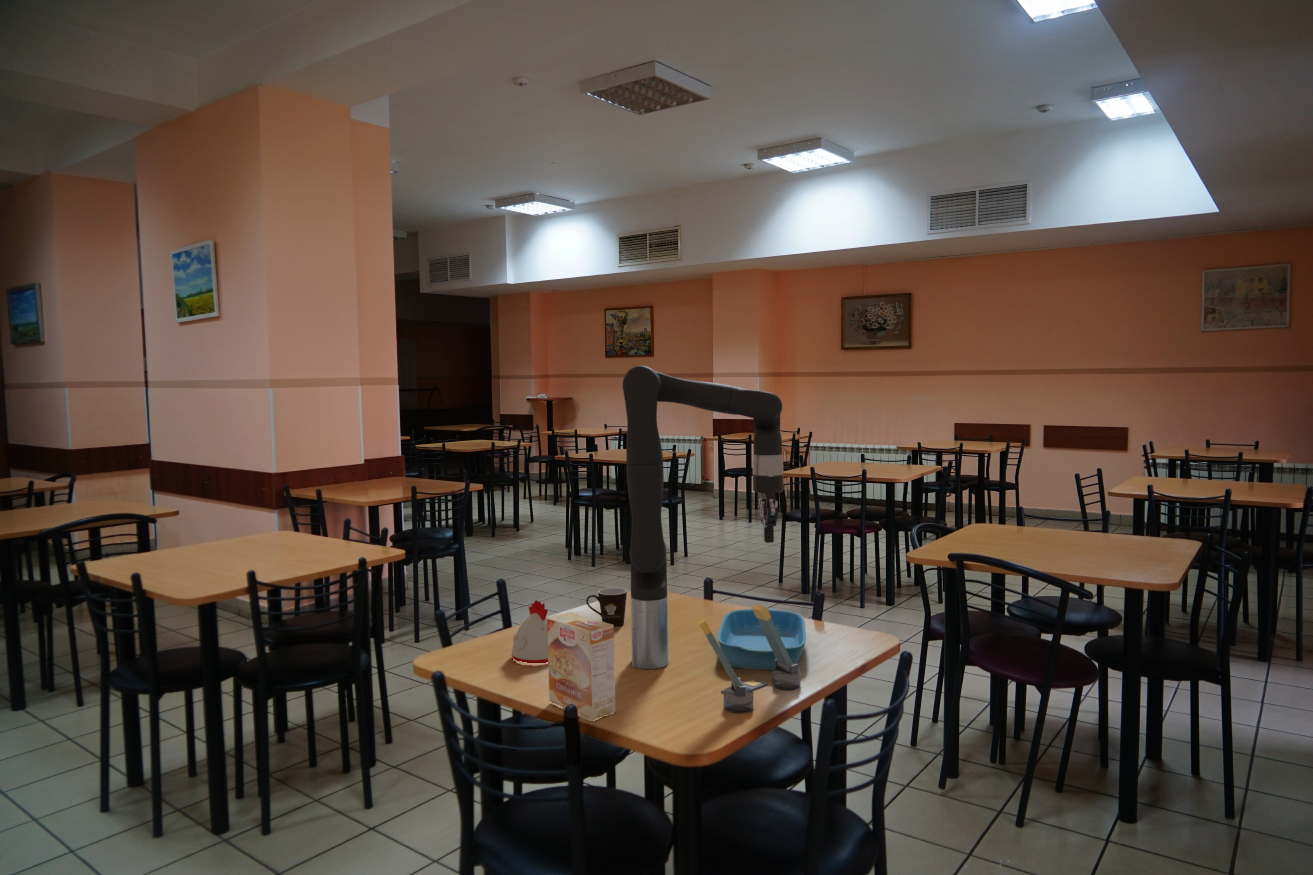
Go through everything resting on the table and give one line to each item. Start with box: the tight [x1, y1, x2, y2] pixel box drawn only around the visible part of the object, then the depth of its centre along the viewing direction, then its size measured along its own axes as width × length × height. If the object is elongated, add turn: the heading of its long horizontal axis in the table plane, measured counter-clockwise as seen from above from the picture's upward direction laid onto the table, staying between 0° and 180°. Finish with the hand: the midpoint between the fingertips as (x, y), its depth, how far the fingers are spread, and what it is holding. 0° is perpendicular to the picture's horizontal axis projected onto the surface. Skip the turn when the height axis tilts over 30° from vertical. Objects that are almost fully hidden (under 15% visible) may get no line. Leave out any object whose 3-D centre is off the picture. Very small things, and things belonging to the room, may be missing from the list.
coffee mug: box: [585, 587, 628, 628], centre depth 238 cm, size 12×9×10 cm
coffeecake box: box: [547, 611, 617, 722], centre depth 173 cm, size 15×7×20 cm, turn 45°
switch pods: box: [723, 659, 801, 714], centre depth 178 cm, size 24×6×6 cm, turn 135°
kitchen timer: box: [511, 599, 550, 663], centre depth 208 cm, size 14×14×15 cm
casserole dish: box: [717, 607, 807, 671], centre depth 209 cm, size 37×22×7 cm, turn 170°
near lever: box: [696, 616, 744, 690], centre depth 171 cm, size 2×4×18 cm, turn 6°
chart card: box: [720, 678, 768, 694], centre depth 183 cm, size 11×4×1 cm, turn 131°
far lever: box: [751, 604, 794, 671], centre depth 182 cm, size 2×4×18 cm, turn 33°
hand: (768, 541), depth 198 cm, fingers closed
